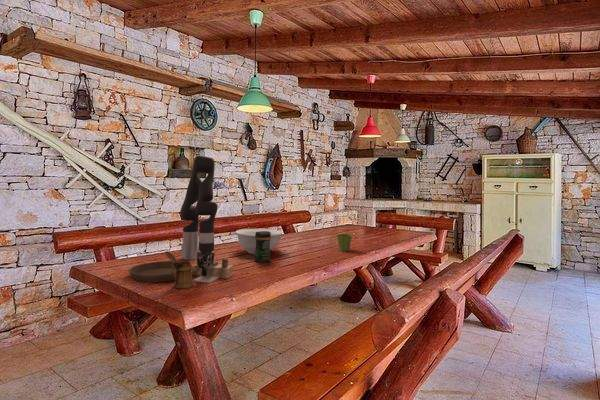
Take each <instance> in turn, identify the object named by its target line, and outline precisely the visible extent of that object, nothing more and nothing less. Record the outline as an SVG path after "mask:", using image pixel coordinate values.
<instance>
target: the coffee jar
mask: <svg viewBox="0 0 600 400" xmlns="http://www.w3.org/2000/svg"><path fill="white" fill-rule="evenodd" d="M255 239H256V249H255V254H254V258H253V259H254V261H255V262H257V263H259V262H260V263H265V262H269V261H271V250H270V239H271V233H270V232H268V231H260V232H256V234H255Z"/></svg>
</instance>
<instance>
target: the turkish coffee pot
mask: <svg viewBox="0 0 600 400" xmlns="http://www.w3.org/2000/svg"><path fill="white" fill-rule="evenodd" d="M165 255H166V257H167V259H169V261H172V262H173V263H172V265H171V273H172V275H173V277H174V279H175V280H174V282H173V288H175V289H177V290H179V289H180V290H182V289H190V288H192V287H194V286H195V285H194V280H193V275H192V267H191V265H192V264H191V261H189V260H184V261H180V262H176V261H177V259H176V258H175V256H174V255H173V253H171V252H169V251H168V250H165ZM175 268H176V273H175V272H174V270H175Z"/></svg>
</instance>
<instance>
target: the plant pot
mask: <svg viewBox="0 0 600 400" xmlns="http://www.w3.org/2000/svg"><path fill="white" fill-rule="evenodd" d="M335 236H336V238H337V242H338V250H339V251H340V252H350V249H351V243H352V239H353V236H354V235H352V234H347V233H341V234H338V233H337V234H336V235H335Z"/></svg>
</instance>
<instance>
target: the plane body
mask: <svg viewBox="0 0 600 400" xmlns="http://www.w3.org/2000/svg"><path fill="white" fill-rule="evenodd" d="M198 257H199V258H200V257H201V251H199V250H198V252H197V259H196V263H195V264H192V269H191V273H192V276H197V277H200V268H199V264H198ZM204 265H205V264H204ZM212 265H213V275H212V276H217V277H218V279H219V278H220V279H229V278H230V277H232V276H233V275H234V265H232V264H231V265H230V264H229V258H222V259H221V264H219V262H218V261H213V264H212Z"/></svg>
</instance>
